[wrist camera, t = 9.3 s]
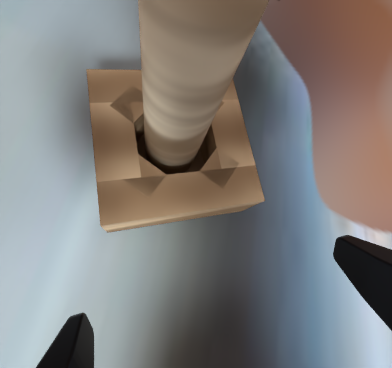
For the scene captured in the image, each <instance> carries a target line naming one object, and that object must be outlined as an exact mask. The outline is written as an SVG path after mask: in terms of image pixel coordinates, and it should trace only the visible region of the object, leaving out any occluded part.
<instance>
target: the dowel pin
mask: <svg viewBox="0 0 392 368" xmlns="http://www.w3.org/2000/svg"><path fill="white" fill-rule="evenodd" d="M268 2H269V0H138V6H139V27H140V48H141V69H142V90H143V112H144V133H145V154H146V160H147V161H148V162H150V163H151V164H152V165H154V166H155V167H157V168H158V169H159V170H161V171H162V172H163V173H165V174H166V175H168V174H177V173H185V172H187V171H188V170H189V168H190V167H191V165H192V163H193V161H194V159H195V157H196V155H197V153H198V150H199V148H200V146H201V144H202V142H203V140H204V138H205V136H206V134H207V131H208V129H209V127H210V125H211V123H212V121H213V119H214V117H215V114H216V112H217V110H218V108H219V106H220V104H221V102H222V100H223V98H224V95H225V93H226V91H227V89H228V87H229V85H230V83H231V81H232V79H233V76H234V74H235V72H236V70H237V68H238V66H239V64H240V62H241V59H242V57H243V55H244V53H245V51H246V49H247V47H248V45H249V43H250V40H251V38H252V36H253V34H254V32H255V30H256V28H257V26H258V24H259V21H260V19H261V17H262V15H263V13H264V11H265V9H266V7H267V4H268Z"/></svg>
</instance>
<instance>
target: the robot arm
mask: <svg viewBox="0 0 392 368" xmlns="http://www.w3.org/2000/svg"><path fill="white" fill-rule="evenodd" d="M333 256H334V259H335V261H336V262H337V264H338V265H339V266H340V268H341V269H342V270H343V272H344V273H345V274H346V276H347V277H348V279H349V280H350V281H351V283H352V284H353V285H354V287H355V288H356V289H357V291H358V292H359V293H360V295H361V296H362V297H363V298H364V300H365V301H366V302H367V303H368V304H369V305H370V307H371V308H372V309H373V310H374V311H375V312H376V313H377V314H378V316H379V317H380V318H381V319H382V320H383V321H384V322H385V324H386V325H387V326H388V327H389V328H390V329H391V330H392V250H391V249H388V248H385V247H382V246H379V245H376V244H373V243H370V242H367V241H364V240H361V239H359V238H356V237H353V236H350V235H345V236H341V237H338V238H337V239H336V242H335V247H334V252H333ZM36 368H94V332H93V328H92V326H91V324H90V322H89V320H88V318H87V316H86V314H85V313H80V314H76V315H73V316H71V317H69V318H68V320H67V321H66V323H65V324H64V326H63V327H62V329H61V330H60V332H59V333H58V335H57V336H56V338H55V340H54V341H53V343H52V344H51V346H50V347H49V349H48V350H47V352H46V353H45V355H44V356H43V358H42V359H41V361H40V362H39V364H38V365H37V367H36Z"/></svg>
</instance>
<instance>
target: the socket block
mask: <svg viewBox="0 0 392 368" xmlns="http://www.w3.org/2000/svg"><path fill="white" fill-rule="evenodd" d="M87 80H88V91H89V103H90V114H91V125H92V136H93V147H94V158H95V169H96V181H97V192H98V203H99V214H100V225H101V227H102V228H103V229H105V230H106V231H107V232H114V231H120V230H127V229H133V228H139V227H145V226H151V225H158V224H164V223H170V222H176V221H183V220H189V219H195V218H201V217H207V216H214V215H220V214H226V213H232V212H239V211H243V210H245V209H247V208H250V207H252V206H254V205H256V204H258V203H261V202H263V201H265V199H264V196H263V192H262V188H261V184H260V180H259V177H258V173H257V169H256V165H255V161H254V158H253V154H252V150H251V146H250V142H249V139H248V135H247V131H246V127H245V123H244V120H243V116H242V112H241V108H240V104H239V101H238V97H237V93H236V89H235V85H234V82H233V79H232V81H231V83H230V85H229V87H228V89H227V91H226V93H225V95H224V98H223V100H222V102H221V104H220V106H219V108H218V110H217V112H216V114H215V117H214V119H213V121H212V123H211V125H210V127H209V129H208V131H207V134H206V136H205V138H204V140H203V142H202V144H201V146H200V148H199V150H198V153H197V155H196V157H195V159H194V161H193V163H192V165H191V167H190V168H189V170H188V171H187V172H185V173H177V174H168V175H166V174H165V173H163V172H162V171H161V170H159V169H158V168H157V167H155V166H154V165H152V164H151V163H150V162H148V161H147V160H146V154H145V133H144V112H143V90H142V70H103V69H87Z"/></svg>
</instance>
